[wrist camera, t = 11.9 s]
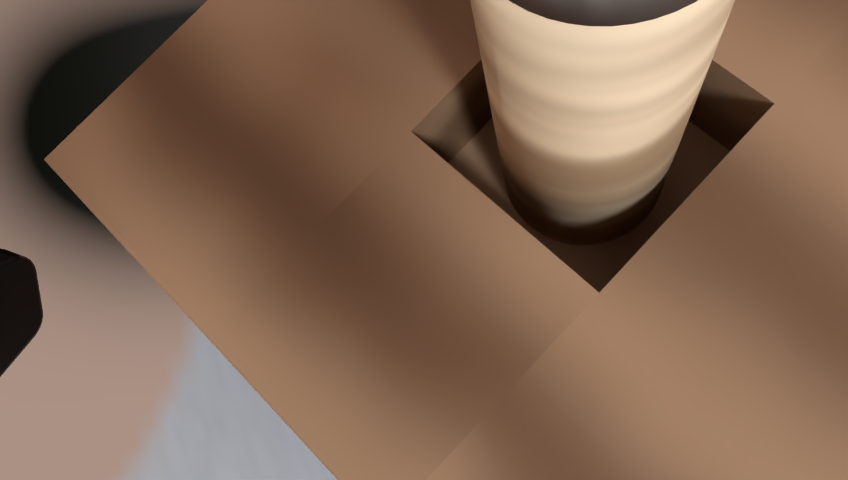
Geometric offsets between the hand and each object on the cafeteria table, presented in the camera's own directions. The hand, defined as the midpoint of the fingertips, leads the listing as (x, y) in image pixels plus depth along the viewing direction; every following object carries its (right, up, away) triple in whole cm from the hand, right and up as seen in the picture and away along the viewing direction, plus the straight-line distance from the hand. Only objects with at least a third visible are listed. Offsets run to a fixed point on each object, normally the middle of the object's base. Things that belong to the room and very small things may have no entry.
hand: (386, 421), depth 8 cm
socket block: (+5, +4, +14) cm, 16 cm away
